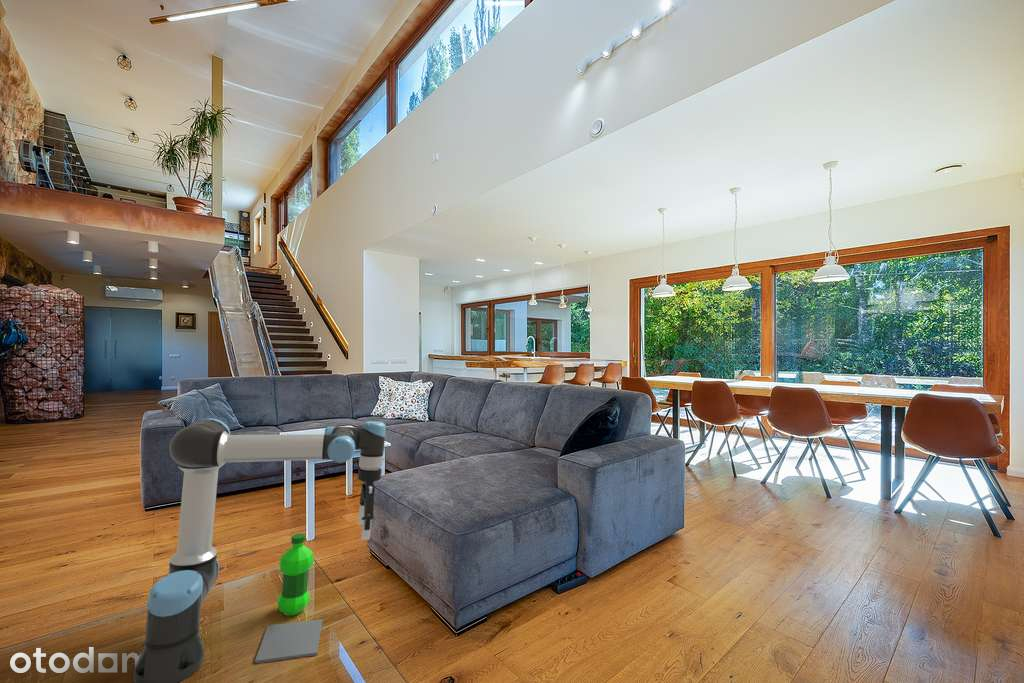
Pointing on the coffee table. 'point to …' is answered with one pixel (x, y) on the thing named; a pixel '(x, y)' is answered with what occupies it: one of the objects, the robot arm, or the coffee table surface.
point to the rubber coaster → (290, 641)
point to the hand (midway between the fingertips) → (363, 531)
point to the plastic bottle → (295, 576)
